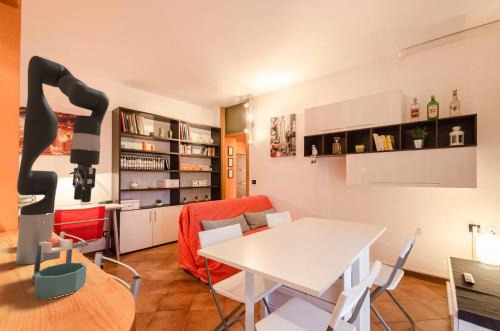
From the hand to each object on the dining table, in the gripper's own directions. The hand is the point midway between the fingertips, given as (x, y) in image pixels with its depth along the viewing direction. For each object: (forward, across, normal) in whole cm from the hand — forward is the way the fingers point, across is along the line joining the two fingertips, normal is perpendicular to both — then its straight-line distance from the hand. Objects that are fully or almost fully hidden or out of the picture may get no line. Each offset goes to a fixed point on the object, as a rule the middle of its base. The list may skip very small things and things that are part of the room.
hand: (81, 200), depth 70 cm
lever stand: (+24, -6, -5) cm, 25 cm away
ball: (+14, -11, -5) cm, 18 cm away
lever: (+18, -5, -3) cm, 19 cm away
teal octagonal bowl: (+24, +5, -5) cm, 25 cm away
